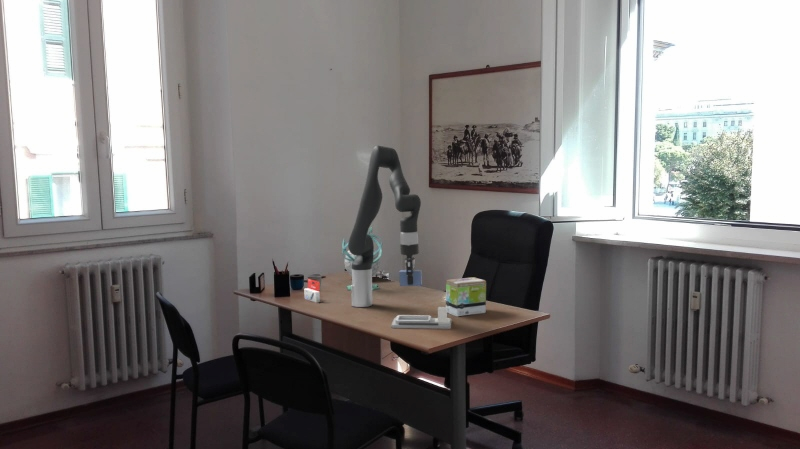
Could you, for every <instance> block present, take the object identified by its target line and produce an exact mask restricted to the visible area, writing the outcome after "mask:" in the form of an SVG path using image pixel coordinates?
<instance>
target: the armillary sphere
mask: <svg viewBox="0 0 800 449" xmlns="http://www.w3.org/2000/svg"><path fill="white" fill-rule="evenodd" d="M372 233H373V227H372V226H371V227H369V230H368V232H367V234H368V235H370V236H371V238H372V240H373V242H375V243H376V245H377V247H378V249H377V250H376V252H375V253H374V254H373V256H374V255H375V254H376V253H378V255H379V256H378V257H377V258H376V259H375V260H374V261H373V263H372V264H374V263H376V262H377V261H378V260H379V259H380V260H381V257H382V254H383V248H382V246H383V241H382V239H381V238H380V237H379V236H378V235H376V234H372ZM376 238H377V239H379V240H380V243H379V241H378V240H377V239H376ZM341 247H342V248H341V249H342V251H341V254H342V255H341V256H343V258H344V260H345V259H346V260H348V261H352V262H353V261H354V260H355V259H356V256H355V259H354V258H353V257H352V256H350V255H349V254H348V250H347V248H348V242H347V243H346V239H345V238H343V239H342V246H341ZM344 254H345V255H344ZM346 255H347V256H348V257H349V258H350V259H348V258H346V257H345V256H346ZM351 286H352V284H350V285H347V286H346V289H347V291H351ZM377 286H378V287H377ZM375 290H380V287H379V285H378V284H376V283H375V284H374V283H372V292H373V291H375Z"/></svg>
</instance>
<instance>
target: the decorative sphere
mask: <svg viewBox="0 0 800 449" xmlns="http://www.w3.org/2000/svg"><path fill="white" fill-rule="evenodd" d="M376 251H377V250H376V248H374V253H375V252H376ZM347 252H348V254H349V255H350V256H352V257H353V258H354V259H355V256H356V255H353V254H351V252H350V251H349V249H348V250H347ZM378 256H379V252H378V253H376V254H375V255H374V256H373V261H374V260H375V259H376V258H377V257H378ZM344 257H346V258H348V259H350V258H349V257H348V256H347V255H346V254H345V255H344ZM352 263H353V262H352V261H348V260H346V259H345V258H344V267H345V271H347V273H348V274H349V275H350V276H351V277H352ZM380 264H381V258H380V259H379V260H378V261H377V262H376V263H374V264H372V277H373V276H374V275H375V274H376V273H377V272H378V269H379V268H380Z"/></svg>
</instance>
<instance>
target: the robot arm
mask: <svg viewBox="0 0 800 449" xmlns="http://www.w3.org/2000/svg"><path fill="white" fill-rule="evenodd" d="M380 168H384V169H389V170H390V171H391V175H390V177H389V179H388V180H389V187H390V189H391V191H392V194H393V195H394V196H393V197H394V205H395V206H394V207H395V209H396V210H397V212H399V213H406V212H407V213H408V212H409V215H408V216H406V217H402V218H400V221H399V223H400V224H399V226H400V228H399V230H400V233H399V234H400V235H399V236H400V237H399V242H400V245H399V246H400V247H399V248H400V249H399V250H400V254H401V255H402V256H405V257H406V258H404V263H405V270H406V272H407V273H406V274H407V279H408V285H413V270H415V262H416V259H415V257H414V255H418V254H419V252H420V250H419V235H418V219H419V214H420V209H421V203H422V202H421V198H420V196H419V195H418V194H412V193H411V188H410V186H409V184H408V182H407V181H406V177H405V176H404V173H403V170H402V165H401V161H400V158H399V154H398V152H397V150H396V149H394V148H393V147H389V146H382V145H375V146H374V147H373V148H372V150H371V153H370V157H369V163H368V169H367V174H366V179H365V180H366V181H365V184H364V188H363V191H362V194H361V198H360V203H359V207H358V211H357V214H356V217H355V222H354V225H353V228H352V231H351V232H350V236H349V238H348V242H347V243H348V246H347V249H348V250H349V251H350V252H351V254H353V255H356V259H355V260H354V261H353V263H352V276H351V285H352V286H351V290H350V291H351V307H357V308H367V307H370V306H373V291H372V284H373V276H372V263H373V254H374V249H375V248H374V247H375V246H374V245H375V244H374V240H373V239H372V238H371V236H370V235H368V234H369V230H370V226H371V225H372V223H373V222H374V220H375V219H376V217H377V216H378V214H379V211H380V209H381V205H382V201H383V191H382V188H381V186H380V182H379V177H378V176H379V170H380ZM410 193H411V194H410ZM367 232H368V234H367ZM408 270H411V272H408Z"/></svg>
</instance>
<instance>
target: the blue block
mask: <svg viewBox="0 0 800 449" xmlns="http://www.w3.org/2000/svg"><path fill="white" fill-rule="evenodd" d="M408 272H411V270H408ZM398 273H399V277H398V278H399V287H413V286H414V287H418V286H419V287H420V286H422V285H423V276H422V275H423V274H422V273H423V272H422V269H414V270H413V285H408V279H407V274H406V273H407V272H406V269H400V270H399V271H398Z"/></svg>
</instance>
